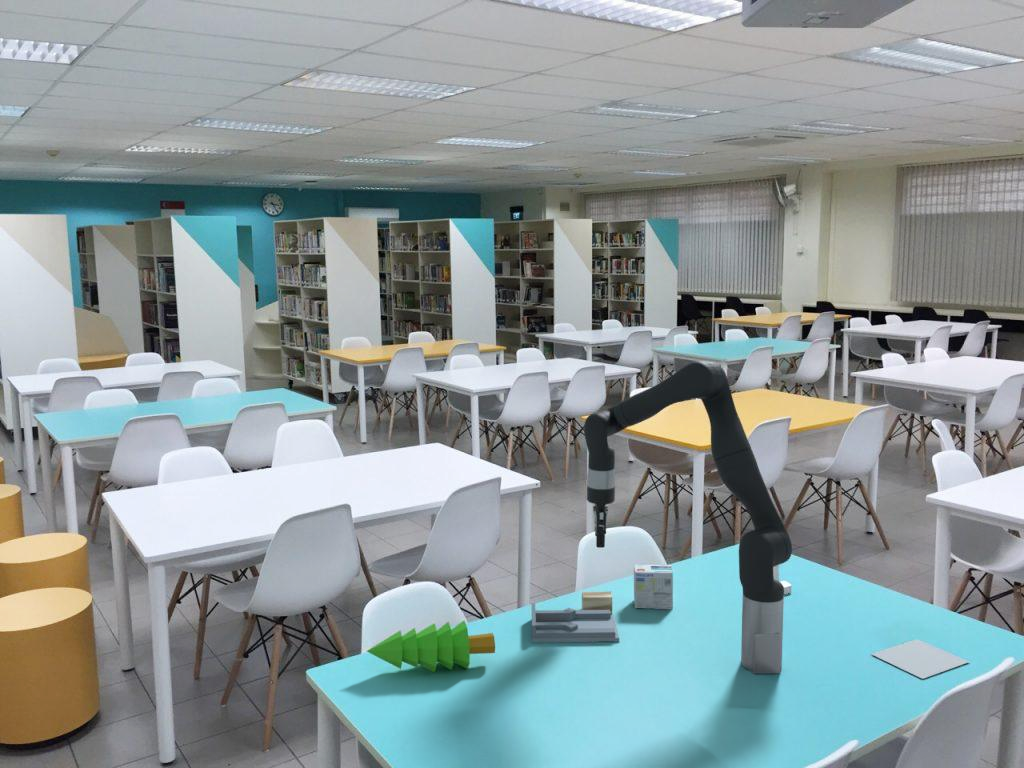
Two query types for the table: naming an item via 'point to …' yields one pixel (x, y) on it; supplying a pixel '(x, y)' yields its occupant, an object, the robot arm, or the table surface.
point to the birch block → (597, 600)
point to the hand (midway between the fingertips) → (599, 541)
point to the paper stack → (920, 658)
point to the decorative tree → (434, 647)
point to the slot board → (573, 625)
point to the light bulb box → (653, 586)
